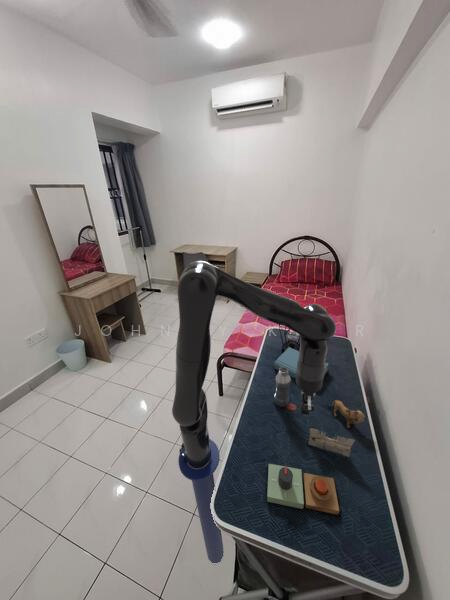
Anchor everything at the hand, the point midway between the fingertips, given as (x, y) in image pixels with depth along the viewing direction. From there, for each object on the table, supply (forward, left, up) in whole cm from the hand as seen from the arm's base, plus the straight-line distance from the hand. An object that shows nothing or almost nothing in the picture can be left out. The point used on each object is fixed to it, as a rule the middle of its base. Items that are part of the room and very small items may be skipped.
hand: (304, 412), depth 76 cm
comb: (+11, +5, -25) cm, 28 cm away
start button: (+6, -10, -21) cm, 24 cm away
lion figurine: (+20, +20, -25) cm, 38 cm away
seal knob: (-5, -10, -22) cm, 25 cm away
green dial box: (-5, -10, -25) cm, 27 cm away
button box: (+6, -10, -25) cm, 28 cm away
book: (+4, +47, -25) cm, 53 cm away
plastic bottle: (-6, +24, -25) cm, 35 cm away
